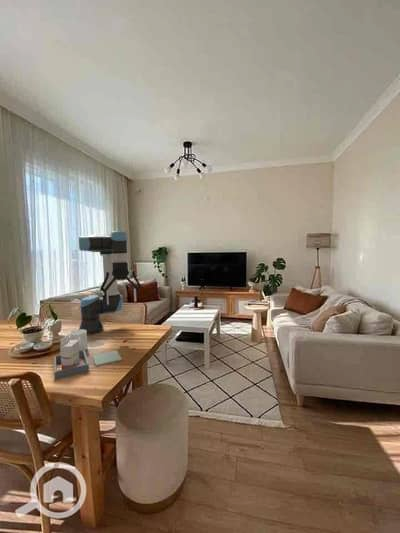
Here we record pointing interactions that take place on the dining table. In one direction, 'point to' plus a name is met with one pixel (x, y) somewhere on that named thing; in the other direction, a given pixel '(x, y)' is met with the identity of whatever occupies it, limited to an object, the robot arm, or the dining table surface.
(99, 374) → the dining table surface
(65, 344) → the ink cartridge box
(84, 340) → the mug
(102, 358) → the mat
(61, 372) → the bin
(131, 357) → the dining table surface
